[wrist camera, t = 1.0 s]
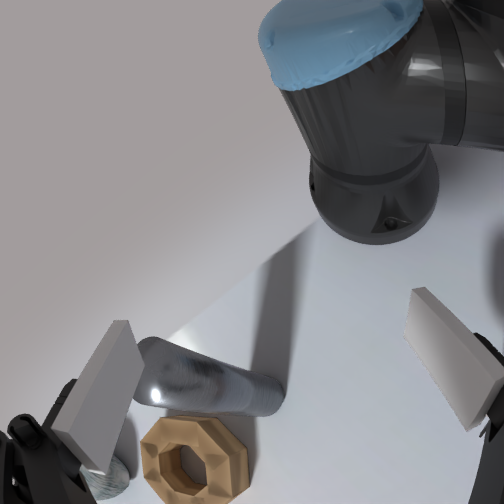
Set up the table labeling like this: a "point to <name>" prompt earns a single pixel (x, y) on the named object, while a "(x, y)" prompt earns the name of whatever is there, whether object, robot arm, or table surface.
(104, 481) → the grey yarn skein
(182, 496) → the brown thick faceted ring
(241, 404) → the rod
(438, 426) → the table surface
